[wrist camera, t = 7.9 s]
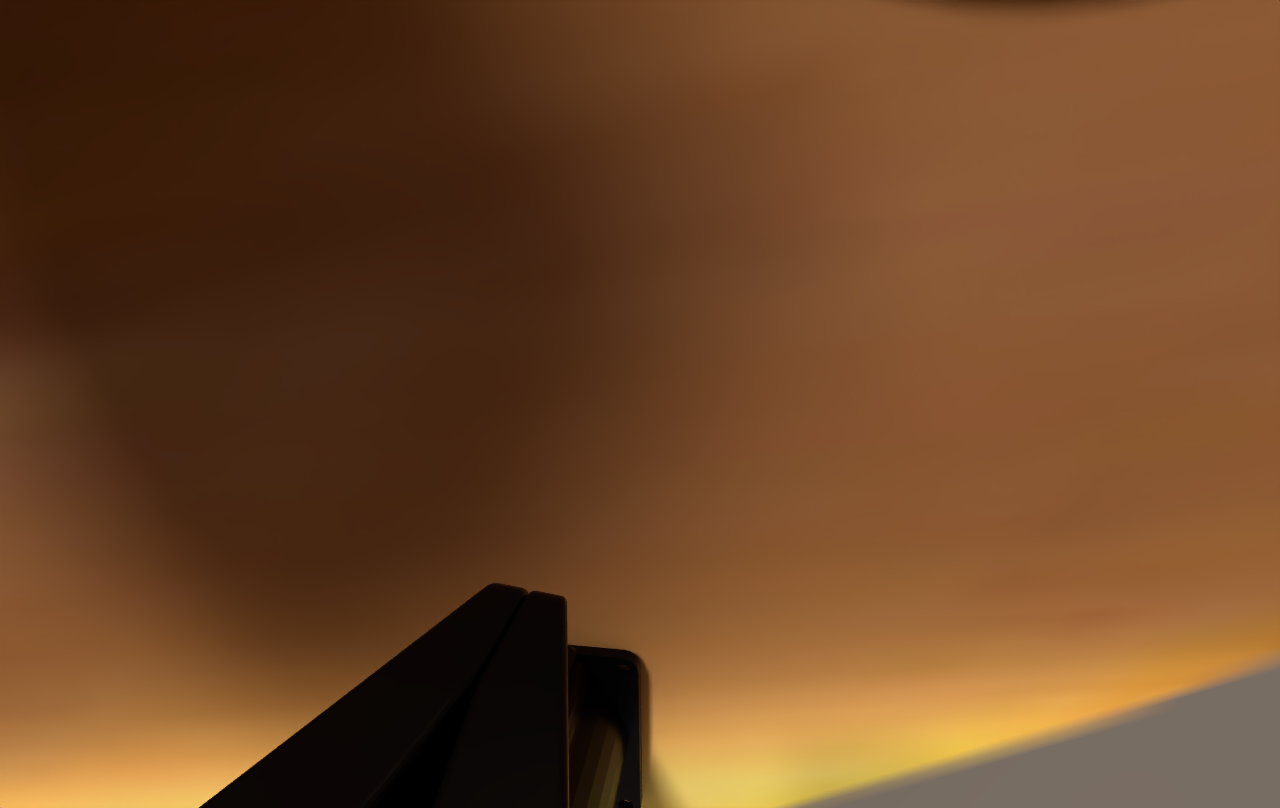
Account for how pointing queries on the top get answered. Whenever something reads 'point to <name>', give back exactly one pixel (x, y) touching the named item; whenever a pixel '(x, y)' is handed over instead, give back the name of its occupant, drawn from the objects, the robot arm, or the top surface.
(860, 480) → the top surface
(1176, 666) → the top surface
